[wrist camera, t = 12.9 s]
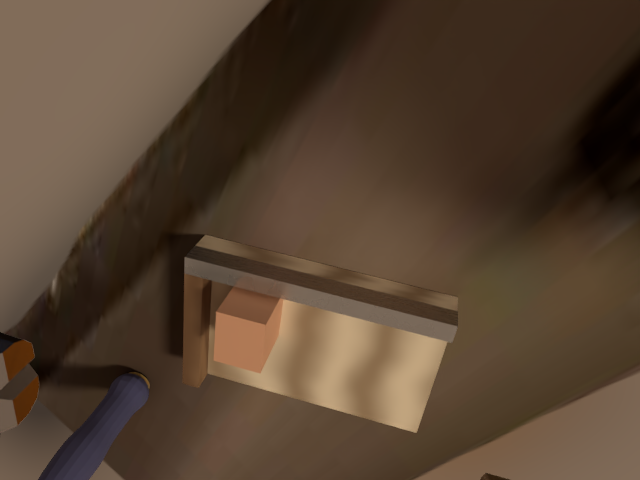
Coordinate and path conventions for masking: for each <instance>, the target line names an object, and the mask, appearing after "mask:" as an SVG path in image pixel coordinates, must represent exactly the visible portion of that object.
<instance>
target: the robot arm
mask: <svg viewBox="0 0 640 480" xmlns="http://www.w3.org/2000/svg"><path fill="white" fill-rule="evenodd" d="M34 357H35V355H34V351H33V347H32V343H30V342H28V341H25V340H23V339H20V338H17V337H13V336H10V335H7V334H4V333H1V332H0V433H2V432H4V431H7V430H9V429H11V428H14V427H16V426H18V425H19V424H20V423H21V421H22V420H23V419H24V418H25V417H26V416H27V415H28V414H29V412H30V411H31V409H32V407H33V405H34V403H35V401H36V399H37V397H38V391H39V379H38V375H37V373H36V372H35V371H34V370H33V368H32V367H31V366H30V365H29V363H30V362H31V361H32V360H33V359H34ZM480 480H509V479H505V478H502V477H499V476H494V475H491V474H488V473H485V474H484V475H483V476H482V477H481V479H480Z"/></svg>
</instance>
